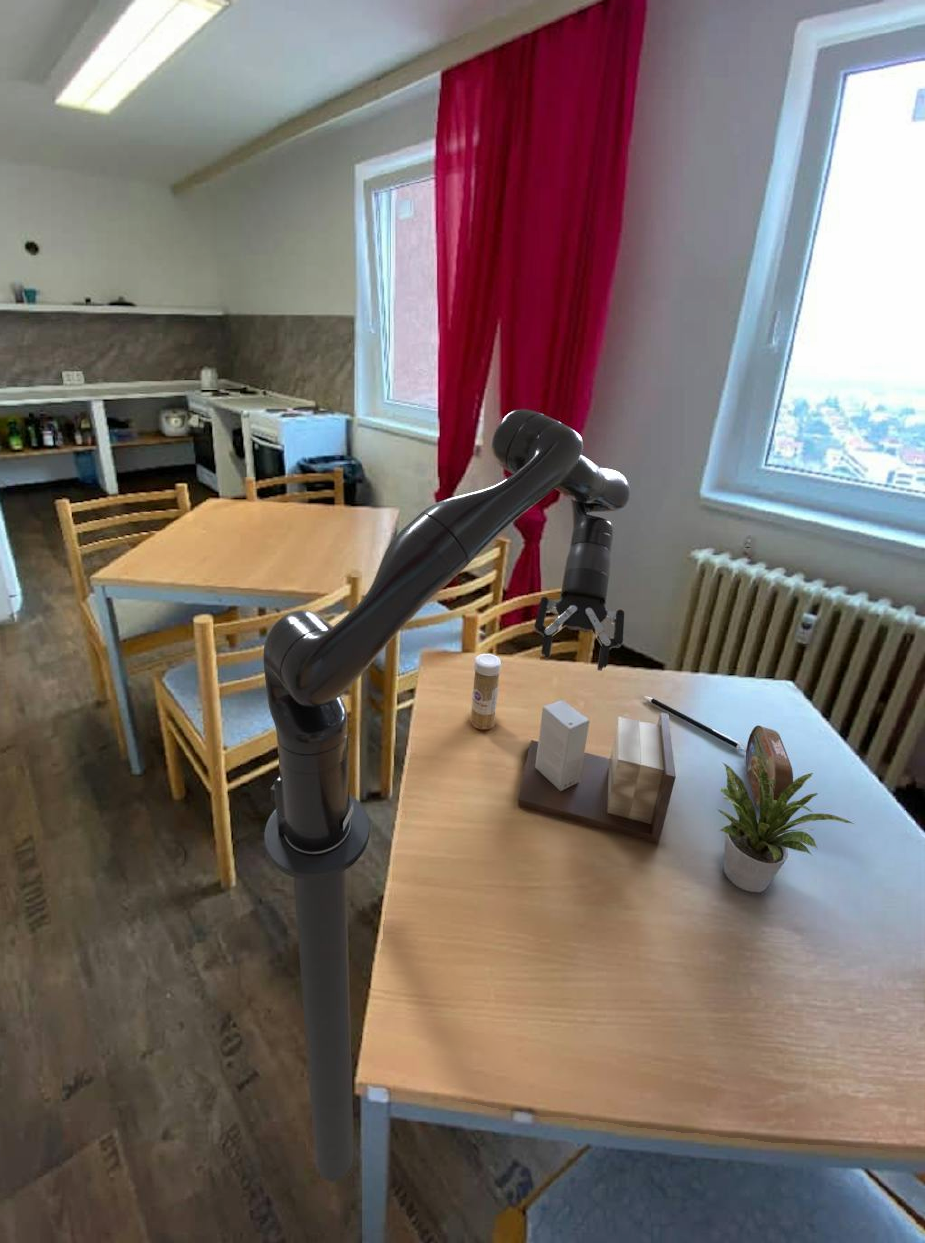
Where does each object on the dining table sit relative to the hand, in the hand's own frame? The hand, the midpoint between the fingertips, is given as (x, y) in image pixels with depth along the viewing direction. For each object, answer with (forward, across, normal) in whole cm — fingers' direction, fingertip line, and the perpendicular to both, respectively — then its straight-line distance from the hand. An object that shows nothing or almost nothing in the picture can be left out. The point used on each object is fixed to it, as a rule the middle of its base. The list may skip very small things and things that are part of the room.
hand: (573, 664), depth 96 cm
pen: (+2, +22, +20) cm, 30 cm away
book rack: (+18, +5, +3) cm, 19 cm away
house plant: (+24, +27, -2) cm, 36 cm away
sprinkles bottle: (+12, -14, +11) cm, 21 cm away
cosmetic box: (+18, 0, +3) cm, 18 cm away
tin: (+11, +31, +11) cm, 35 cm away
